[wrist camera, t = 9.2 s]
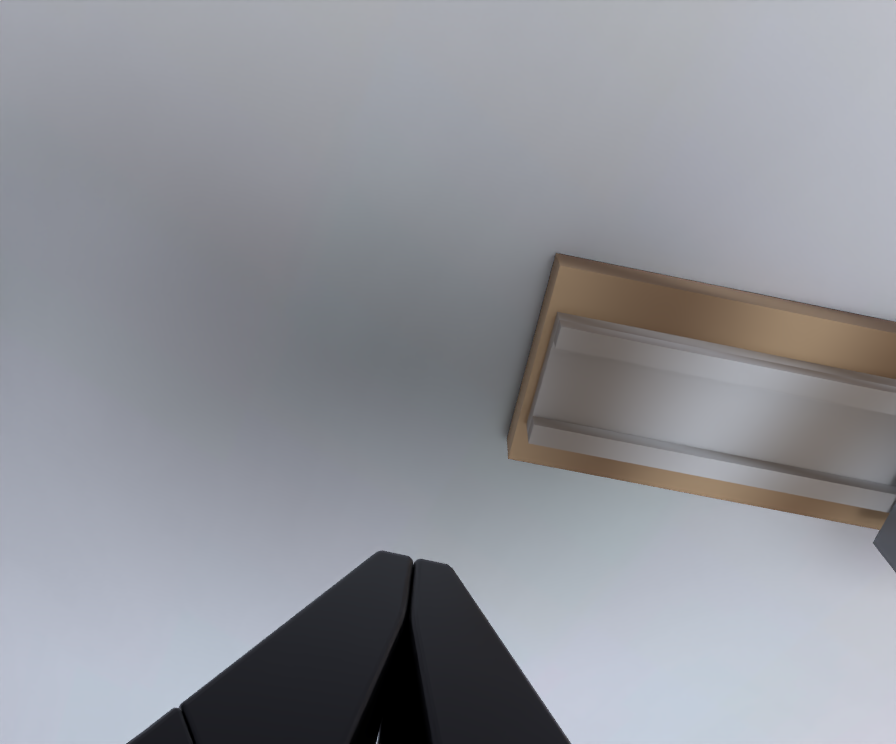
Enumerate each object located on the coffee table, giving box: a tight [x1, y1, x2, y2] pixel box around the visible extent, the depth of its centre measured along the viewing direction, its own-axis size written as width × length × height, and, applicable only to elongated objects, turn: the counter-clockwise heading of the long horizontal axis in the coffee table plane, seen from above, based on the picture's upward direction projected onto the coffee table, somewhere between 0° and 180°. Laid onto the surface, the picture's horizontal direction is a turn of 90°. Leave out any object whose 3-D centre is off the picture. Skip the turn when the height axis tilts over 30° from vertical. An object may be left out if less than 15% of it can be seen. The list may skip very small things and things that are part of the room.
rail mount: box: [507, 253, 896, 530], centre depth 19 cm, size 18×6×6 cm, turn 79°
